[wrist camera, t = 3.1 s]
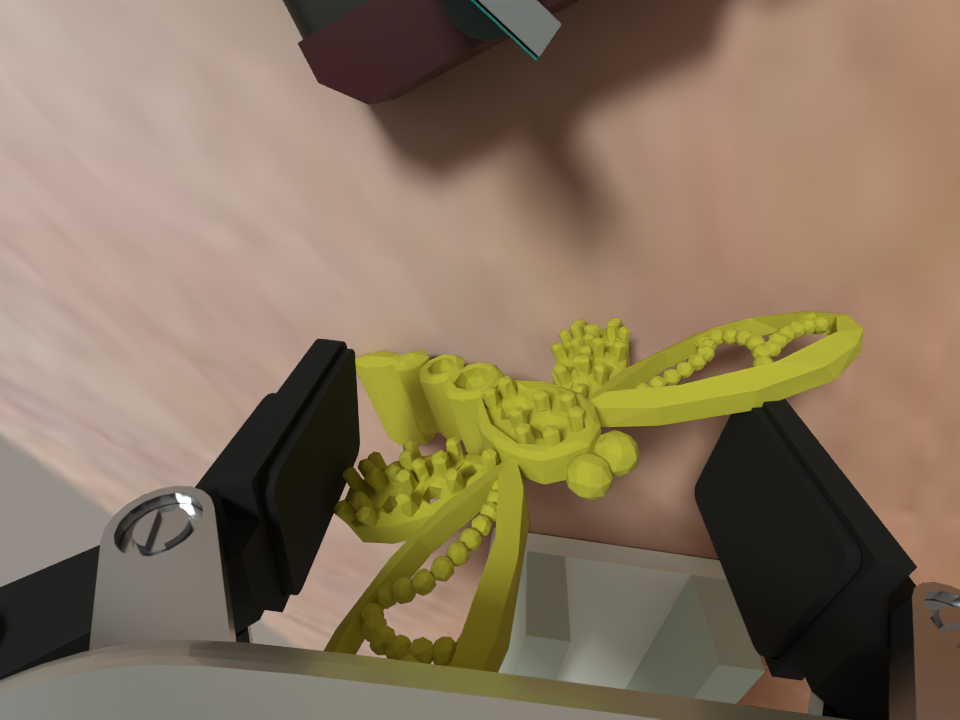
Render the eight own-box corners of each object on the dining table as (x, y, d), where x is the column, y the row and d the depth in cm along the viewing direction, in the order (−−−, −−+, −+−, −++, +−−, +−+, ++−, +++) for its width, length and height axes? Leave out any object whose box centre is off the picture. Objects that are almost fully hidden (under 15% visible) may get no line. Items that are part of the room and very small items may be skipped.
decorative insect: (544, 247, 17) (884, 293, 9) (560, 324, 19) (862, 418, 11) (177, 444, 12) (247, 918, 4) (242, 528, 13) (382, 981, 6)
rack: (757, 566, 17) (807, 677, 14) (637, 738, 26) (652, 832, 23) (493, 527, 18) (484, 629, 15) (460, 710, 26) (450, 799, 23)
